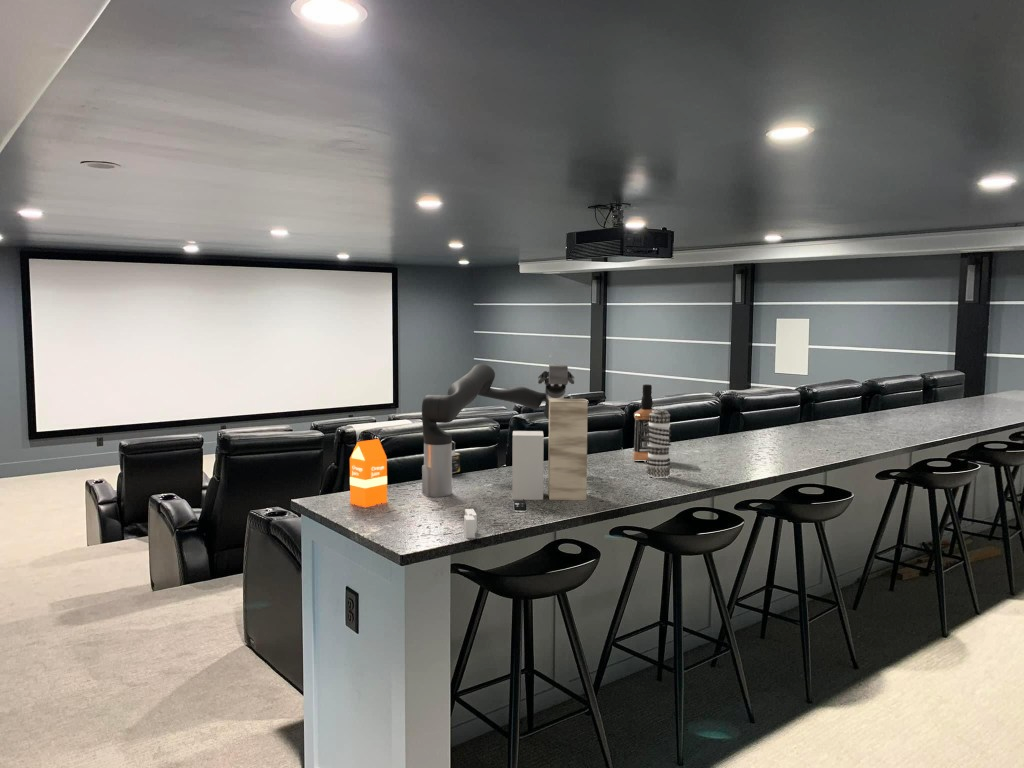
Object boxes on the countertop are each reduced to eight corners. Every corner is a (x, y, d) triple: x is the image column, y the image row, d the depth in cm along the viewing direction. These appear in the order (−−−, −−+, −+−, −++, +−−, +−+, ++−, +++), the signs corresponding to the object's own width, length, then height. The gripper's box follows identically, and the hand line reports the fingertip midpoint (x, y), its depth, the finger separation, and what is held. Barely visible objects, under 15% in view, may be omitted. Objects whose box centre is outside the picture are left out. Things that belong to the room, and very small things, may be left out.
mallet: (548, 380, 264) (548, 363, 263) (564, 380, 264) (565, 363, 263) (549, 384, 245) (549, 366, 244) (567, 384, 245) (567, 366, 244)
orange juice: (349, 503, 231) (349, 440, 230) (371, 498, 238) (371, 437, 236) (365, 507, 226) (364, 443, 224) (387, 502, 233) (387, 440, 231)
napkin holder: (464, 524, 209) (464, 504, 208) (499, 530, 204) (499, 509, 203) (435, 538, 195) (435, 516, 195) (471, 544, 190) (472, 522, 190)
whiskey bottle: (656, 458, 312) (658, 383, 310) (659, 462, 303) (660, 385, 300) (632, 457, 314) (633, 383, 311) (633, 462, 304) (635, 385, 301)
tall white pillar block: (512, 492, 247) (512, 430, 245) (542, 492, 247) (542, 431, 245) (512, 499, 237) (512, 435, 235) (543, 499, 237) (543, 435, 235)
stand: (548, 492, 247) (548, 398, 244) (583, 493, 247) (584, 398, 244) (549, 499, 237) (550, 401, 234) (586, 500, 237) (587, 401, 234)
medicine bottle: (447, 474, 277) (447, 443, 276) (433, 472, 281) (433, 441, 280) (460, 471, 282) (460, 440, 281) (446, 469, 287) (446, 439, 286)
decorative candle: (642, 474, 279) (643, 409, 277) (666, 473, 280) (667, 408, 278) (649, 479, 270) (650, 411, 268) (673, 478, 271) (675, 411, 269)
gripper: (536, 380, 276) (537, 358, 260) (574, 380, 275) (576, 359, 260) (536, 398, 272) (537, 377, 257) (574, 398, 272) (577, 378, 256)
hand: (557, 368), depth 258 cm, fingers closed on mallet, 3 cm apart
